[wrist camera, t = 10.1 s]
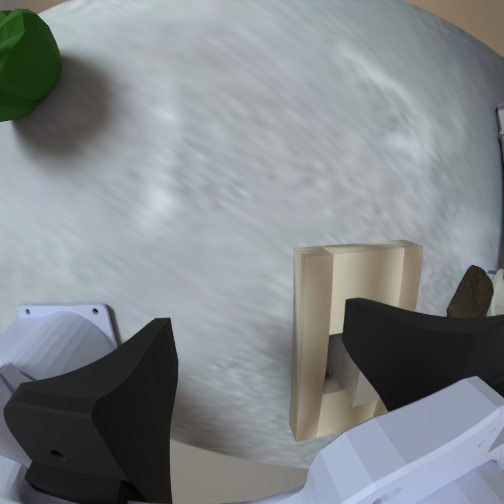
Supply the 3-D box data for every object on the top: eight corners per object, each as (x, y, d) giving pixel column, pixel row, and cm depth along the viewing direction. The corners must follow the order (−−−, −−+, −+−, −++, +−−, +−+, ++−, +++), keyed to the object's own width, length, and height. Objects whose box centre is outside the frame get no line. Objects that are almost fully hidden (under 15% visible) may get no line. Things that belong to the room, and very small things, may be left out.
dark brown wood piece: (406, 408, 28) (424, 430, 23) (385, 409, 27) (404, 434, 23) (478, 270, 25) (507, 282, 20) (462, 260, 24) (494, 272, 20)
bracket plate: (289, 424, 25) (295, 442, 22) (293, 248, 20) (304, 257, 18) (376, 402, 26) (387, 416, 24) (404, 239, 22) (423, 246, 19)
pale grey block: (324, 364, 23) (352, 407, 18) (328, 325, 22) (361, 365, 17) (363, 355, 24) (396, 393, 18) (369, 317, 23) (408, 351, 17)
